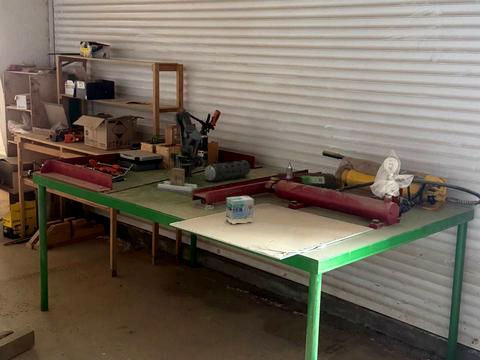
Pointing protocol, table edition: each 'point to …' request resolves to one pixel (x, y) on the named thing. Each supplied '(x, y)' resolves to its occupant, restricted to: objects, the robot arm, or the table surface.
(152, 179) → the table surface
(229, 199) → the light bulb box
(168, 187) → the track board
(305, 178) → the green bottle
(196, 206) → the table surface
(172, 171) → the wooden block
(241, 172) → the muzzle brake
